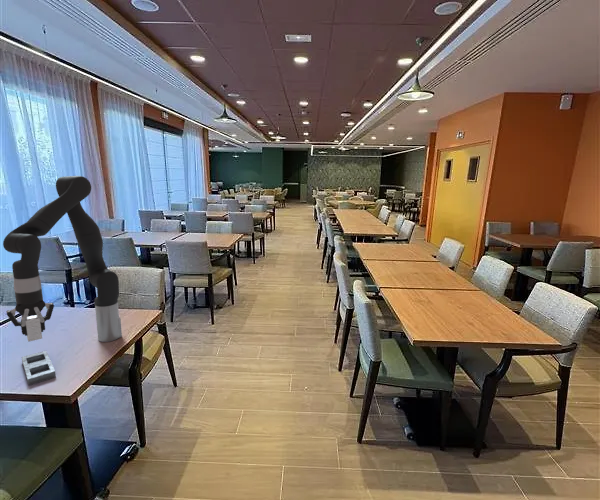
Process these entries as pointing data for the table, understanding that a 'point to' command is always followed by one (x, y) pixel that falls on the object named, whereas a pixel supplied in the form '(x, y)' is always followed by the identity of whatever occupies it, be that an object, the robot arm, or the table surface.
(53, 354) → the table surface
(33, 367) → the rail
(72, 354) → the table surface
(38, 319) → the steel peg
